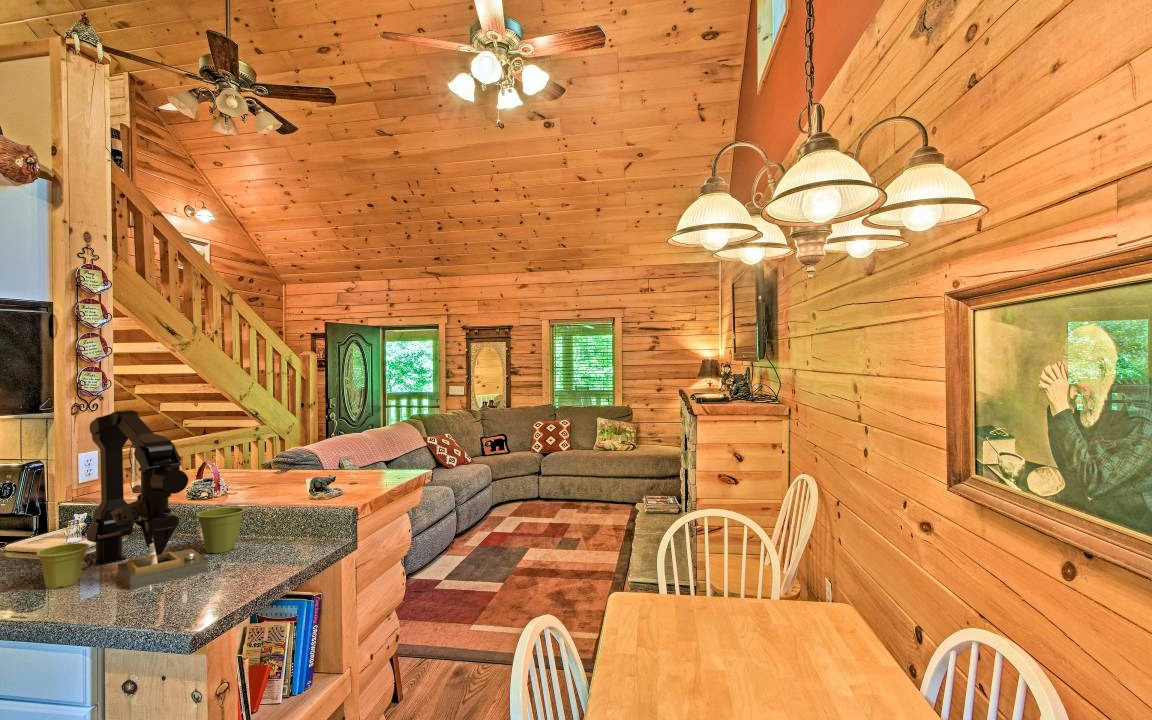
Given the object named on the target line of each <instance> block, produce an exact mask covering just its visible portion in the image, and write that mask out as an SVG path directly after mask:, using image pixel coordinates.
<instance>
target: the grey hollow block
mask: <svg viewBox="0 0 1152 720" xmlns="http://www.w3.org/2000/svg"><path fill="white" fill-rule="evenodd" d="M208 559H209V558H208ZM208 559H207V557H205V556H204V555H203V554H201V553H199V552H198V551H196V550H195V549H193V548H188V549H183V550H182V549H181V550H178V551H173V552H172V551H168V552H163V553H162V554H160V555H157V562H158V564H153V565H151V560H152V555H148V556H144V557H138V558H133V559H128V560H126V561H125V562H121V563H118V564H117V577H118V578H119V579H120V580H121V581H122V582H123V583H124V585H125V586H126V587H127V588H128V589H129V590H136V589H140V588H143V587H144V588H145V587H148V586H152V585H157V584H160V583H164V582H168V581H172V580H176V579H181V578H182V579H183V578H184V577H189V576H194V575H198V574H202V573H205V572H209V560H208Z"/></svg>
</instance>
